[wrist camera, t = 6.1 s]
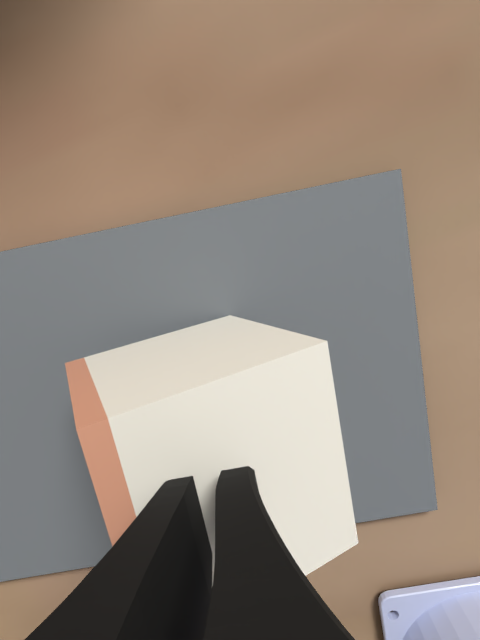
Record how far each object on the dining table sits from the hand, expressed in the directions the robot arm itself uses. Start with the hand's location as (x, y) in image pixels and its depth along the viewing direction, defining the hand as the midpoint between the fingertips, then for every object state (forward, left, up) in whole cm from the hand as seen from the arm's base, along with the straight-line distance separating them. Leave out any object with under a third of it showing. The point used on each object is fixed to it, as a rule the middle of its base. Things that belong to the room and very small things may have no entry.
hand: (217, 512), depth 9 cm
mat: (0, +2, -8) cm, 8 cm away
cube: (0, -2, -5) cm, 5 cm away
